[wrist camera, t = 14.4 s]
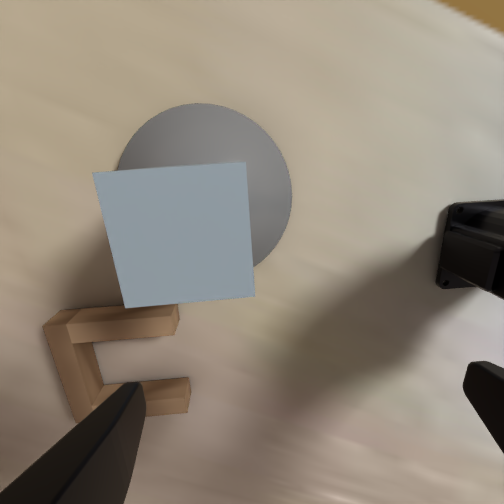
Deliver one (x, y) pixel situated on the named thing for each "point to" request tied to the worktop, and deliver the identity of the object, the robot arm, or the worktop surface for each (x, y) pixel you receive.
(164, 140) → the charcoal trivet
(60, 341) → the walnut bay
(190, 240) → the slate block
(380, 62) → the worktop surface
